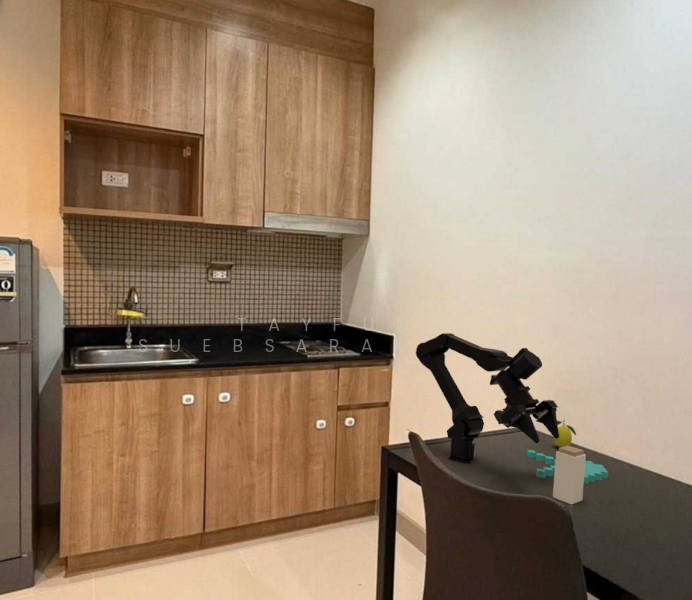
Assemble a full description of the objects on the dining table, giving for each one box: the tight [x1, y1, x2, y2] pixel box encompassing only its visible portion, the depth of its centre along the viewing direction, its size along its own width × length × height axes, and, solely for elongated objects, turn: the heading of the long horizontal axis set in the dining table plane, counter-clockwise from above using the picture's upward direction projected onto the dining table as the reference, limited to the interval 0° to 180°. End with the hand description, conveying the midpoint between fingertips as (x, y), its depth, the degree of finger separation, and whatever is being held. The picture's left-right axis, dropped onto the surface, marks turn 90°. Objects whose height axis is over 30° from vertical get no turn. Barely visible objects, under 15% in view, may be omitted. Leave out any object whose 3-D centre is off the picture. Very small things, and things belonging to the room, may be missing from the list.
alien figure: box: [526, 449, 609, 485], centre depth 154 cm, size 20×2×20 cm
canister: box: [552, 445, 587, 505], centre depth 131 cm, size 5×5×12 cm
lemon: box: [553, 418, 577, 448], centre depth 175 cm, size 7×6×10 cm
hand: (548, 440), depth 136 cm, fingers open, 9 cm apart
